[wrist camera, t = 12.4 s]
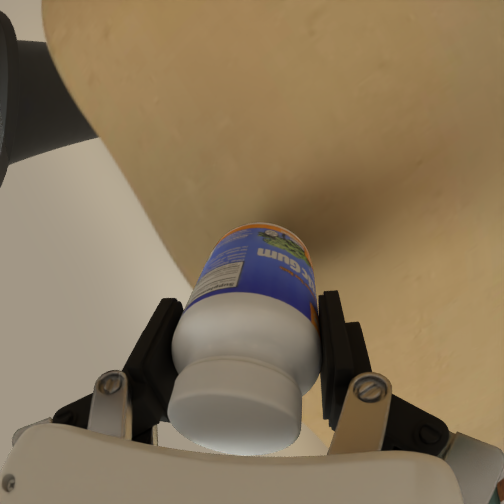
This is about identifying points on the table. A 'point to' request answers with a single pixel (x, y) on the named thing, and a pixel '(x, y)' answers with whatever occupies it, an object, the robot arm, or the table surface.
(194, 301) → the pill bottle
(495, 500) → the can
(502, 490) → the mug
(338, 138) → the table surface
